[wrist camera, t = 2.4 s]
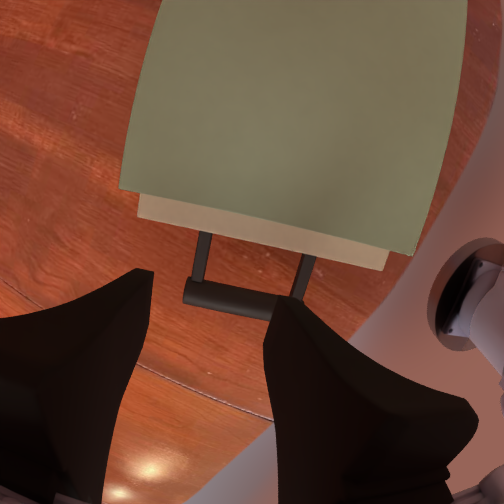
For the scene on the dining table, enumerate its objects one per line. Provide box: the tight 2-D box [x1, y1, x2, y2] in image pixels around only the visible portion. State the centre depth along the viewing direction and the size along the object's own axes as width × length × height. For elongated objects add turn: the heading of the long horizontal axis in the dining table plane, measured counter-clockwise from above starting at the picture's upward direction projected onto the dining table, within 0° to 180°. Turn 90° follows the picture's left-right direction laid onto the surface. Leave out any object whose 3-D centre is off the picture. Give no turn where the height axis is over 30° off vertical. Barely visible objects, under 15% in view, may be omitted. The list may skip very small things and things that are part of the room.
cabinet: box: [119, 0, 467, 256], centre depth 13 cm, size 14×12×9 cm
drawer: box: [137, 193, 390, 321], centre depth 15 cm, size 17×10×7 cm, turn 167°
